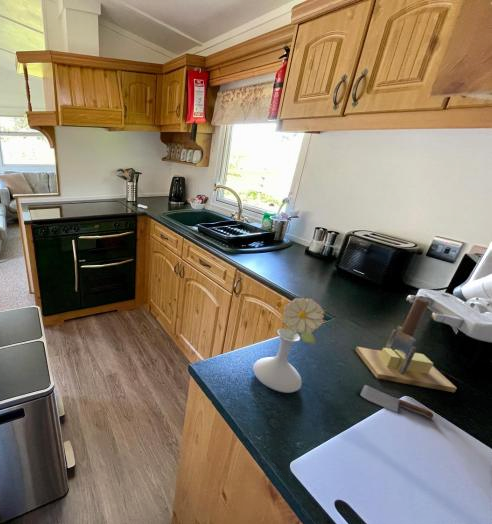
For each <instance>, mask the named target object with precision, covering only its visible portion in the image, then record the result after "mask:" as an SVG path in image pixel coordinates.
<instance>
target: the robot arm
mask: <svg viewBox="0 0 492 524" xmlns="http://www.w3.org/2000/svg"><path fill="white" fill-rule="evenodd" d="M417 297H418V298H423V299H426V300H428V301H429V304H428V306H427V308H426V309H429V310H430V311H431V312H432V313H431V314H430V318H431V319H432V320H433V321H435V322H439V323H443V324H445V325H449V326H452V327H454V328H456V329H457V330H459V331H460V332H462V333H463V334H465V336H467V337H470V338H472V339H474V340H478V341H481V342H487V343H492V241H491V242H490V243H489V244H488V246H487V248H485V250H484V252H483V253H482V255H481V256H480V257H479V259H478V260H477V263H476V264H475V266H474V267H473V270H472V271H471V272H470V274H469V276H468V277H467V279H466V280H465V281H464V282H463V283H461V284H460V285H458V286H456V287H455V288H454V289H453V291H452V294H451V293H449V292H445V291H439V290H434V289H428V288H420V289H418V290H417V293H416V294H414V295H413V294H409V295H407V297H406V298H405V299H406V301H407V302H408V303H410V304H413V303H414V301H415V299H416V298H417Z"/></svg>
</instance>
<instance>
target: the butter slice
mask: <svg viewBox="0 0 492 524" xmlns="http://www.w3.org/2000/svg"><path fill="white" fill-rule="evenodd" d="M381 351H382V352H381V354H380V356H379V358H380V359H381V361H382V362H383V363H384V364H385V365H386V366H387V367H391V368H396V366H397V363H398V361H399V359H400V357H399V356H398V355H397V354H396V353H395V352H394V349H392V348H390V349H389V348H385V347H382V349H381Z"/></svg>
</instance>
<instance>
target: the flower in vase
mask: <svg viewBox="0 0 492 524" xmlns="http://www.w3.org/2000/svg"><path fill="white" fill-rule="evenodd" d="M282 314H283V316H281V318H282V322H283V324H284V326H286V327H287V328H278V329H277V331H276V332H277V335H278V337H279V347H278V351H277V354H276V355H275V356H267V357H262V358H260V359H258V360H256V361H255V362H254V363H253V366H252V368H253V369H252V371H253V373H254V375H255V377H256V378H257V380H258V382H260V383H261V384H263V385H264V386H265V387H267V388H269V389H271V390H273V391H276V392H278V393H284V394H291V393H294V392H298V391H299V390H300V389H301V388H302V384H303V383H302V377H301V375H300V373H299V372H298V370H297V369H296V368H295V367H294V366H293V365H292V364H291V363H289V361H288V357H289V353H290V351H291V349H292V347H293V345H294V344H295V343H297V342H298V341H300V340H302V341H303V342H305V343H307V344H311V345H317V342H316V340H315V336H314V334H313V332H315V330H317V329H319V328H320V327H321V326H322V325H323V324H324V323H325V320H323V319H324V318H325V315H324V314H325V310H324V309H323V307H321V306H320V304H318V303H317V302H316V301H315V300H313V298H312V297H311V298H305V297H301V298H298V297H295V298H293V300H290V301H289V302H288V304H285V305H284V308H283V313H282ZM298 333H300V335H299V334H298Z"/></svg>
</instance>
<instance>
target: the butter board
mask: <svg viewBox="0 0 492 524" xmlns="http://www.w3.org/2000/svg"><path fill="white" fill-rule="evenodd" d="M397 331H398V329H394V328H393V329H392V331H391V333H390V336H389V338H388V340H387V342H386V345H385V346H384V348H389V349H391V347H392V346H393V345H392V342H393V340H394V338H395V336H396V334H397ZM417 349H418V348H417V347H416V346H414V345H412V347H411V349H410V351H409V353H408V355H407V357H406V359H405V361H404V363H403V365H402V367H401V369H398V368H397V366H396V368H391V367H387V366H386V365H385V364H384V363H383V362H382V361H381V359H380V358H379V356H380V354H381V352H382V350H379V349H373V348H367V347H362V346H356V347H355V352H356V354H357V355H358V356H359V358H360V359H361V360H362V361H363V363H364V364H365V365H366V366H367V368H368V369H369V370H370V372H371V374H373V376H374V377H375V378H376V379H379V380H385V381H389V382H395V383H401V384H405V385H406V384H407V385H411V386H417V387H422V388H428V389H434V390H439V391H443V392H449V393H450V392H451V393H455V392H456V391H457V388H458V387H456V385H454V384H453V383H452V382H451V381H450V380H449V379H448V378H447V377H446V376H445V375H443V374H442V372H440V371H439V370H438V369H437V368H436V367H435V366H434V365H433V366H432V368H431V369H430V371H429V373H428V374H425V373H420V372H414V371H408V370H407V368H408V366H409V364H410V362H411V360H412V358H413V356H414V354H415V353H417Z"/></svg>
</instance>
